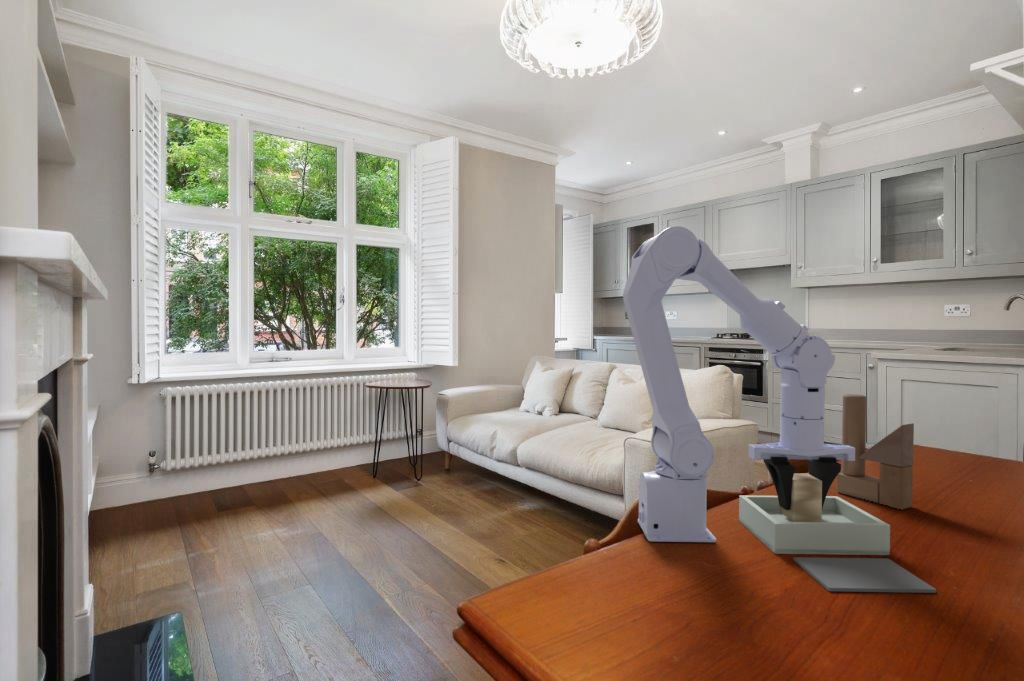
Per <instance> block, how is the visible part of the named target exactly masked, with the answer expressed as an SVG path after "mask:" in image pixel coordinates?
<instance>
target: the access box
mask: <svg viewBox="0 0 1024 681" xmlns="http://www.w3.org/2000/svg"><path fill="white" fill-rule="evenodd" d="M738 496H739V498H738V506H739V507H738V521H739V522H740V523H741V524H742V525H743V526H744V527H745V528H746V529H748V531H749V532H750V533H752V535H754V536H755V538H757V539H758V540H759V541H760V542H762V544H764V545H765V546H766V547H767V548H768V549H769V550H770V551H771V552H772V553H773V554H775V555H776V554H778V555H780V554H782V555H783V554H785V555H842V556H843V555H846V556H847V555H851V556H852V555H853V556H854V555H856V556H860V555H861V556H862V555H864V556H890V552H891V550H890V549H891V544H890V543H891V524H888V523H887V522H885V521H884V520H881V519H880V518H878V517H876V516H874V515H872V514H871V513H869V512H867V511H865V510H863V509H861V508H859V507H858V506H856V505H854V504H852V503H850V502H848V501H847V500H845V499H843V498H842V497H840V496H837V495H835V496H834V495H826V498H825V502H824V505H823V509H822V522H793V521H791V520H790V519H789V518H787V517H786V516H785V515H783V514H782V513H780V506H779V501H778V496H777V495H753V494H751V495H747V494H746V495H744V494H743V495H741V494H740V495H738Z"/></svg>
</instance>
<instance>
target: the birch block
mask: <svg viewBox="0 0 1024 681" xmlns="http://www.w3.org/2000/svg"><path fill="white" fill-rule="evenodd" d="M780 513H782V514H783V515H785V516H786V517H787V518H789V519H790V520H791V521H793V522H822V481H821V480H819V479H817V478H815V477H813V476H811V475H810V474H809V472H807V473H802V472H801V473H799V472H798V473H795V472H794V475H793V480H792V487H791V508H790V510H785V509H784V508H782V507H781V506H780Z"/></svg>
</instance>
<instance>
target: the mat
mask: <svg viewBox="0 0 1024 681" xmlns="http://www.w3.org/2000/svg"><path fill="white" fill-rule="evenodd" d="M793 562H795V563H796V564H797V565H798V566H800V568H801V569H803V570H804V571H805V572H806V573H808V575H809V576H810V577H812V578H813V579H814V580H815V581H817V582H818V584H820V586H822V587H823V588H824V589H825V590H827V591H828V592H845V593H846V592H847V593H848V592H851V593H854V592H855V593H856V592H857V593H859V592H860V593H864V592H865V593H912V594H913V593H919V594H921V593H924V594H925V593H926V594H929V593H930V594H932V593H933V594H936V593H937V589H936V588H935V587H933V586H932V585H931V584H928V582H925V581H924V580H922V579H921V578H919V577H918V576H916V575H915V574H914V573H911V572H910V571H909V570H907V569H905V568H904V567H903V566H901V565H899V564H897V563H896V562H894V561H893V560H891V559H890V558H879V557H878V558H871V557H870V558H867V557H866V558H865V557H862V558H861V557H802V556H801V557H796V556H795V557H793Z"/></svg>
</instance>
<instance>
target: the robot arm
mask: <svg viewBox="0 0 1024 681" xmlns="http://www.w3.org/2000/svg"><path fill="white" fill-rule="evenodd" d="M630 263H631V264H630V268H629V272H628V275H627V278H626V283H625V286H624V289H623V292H622V299H623V300H622V301H623V304H624V306H625V307H624V308H625V310H626V315H627V318H628V322H629V326H630V330H631V334H632V338H633V341H634V344H635V349H636V352H637V356H638V360H639V363H640V367H641V371H642V374H643V378H644V381H645V386H646V389H647V392H648V397H649V401H650V403H651V408H652V414H651V417H650V418H651V419H650V421H651V426H652V433H651V438H650V445H651V448H652V449H651V450H652V452H653V453H654V455H655V456H656V457H657V462H656V464H655V468H654V469H655V470H652V471H644V472H640V474H639V478H638V518H637V523H638V524H639V526H640V528H641V529H642V532H643V534H644V536H645V537H646V539H647V540H648V542H653V543H654V542H657V543H658V542H662V543H663V542H668V543H672V542H673V543H675V542H676V543H716V542H717V538H716V537H715V535H714V534H713V533H712V532H711V531H710V530H709V528H708V527H707V502H708V501H707V490H708V489H707V488H708V487H707V486H708V485H707V482H708V481H707V479H708V476H707V474H708V473H707V472H708V471H709V470H710V469H711V467H712V465H713V464H714V460H715V450H714V446H713V444H712V442H711V441H710V440H709V438H708V437H706V435H705V434H704V433H703V431H702V428H701V424H700V421H699V419H698V418H697V416H696V415H695V413H694V412H693V410H692V408H691V406H690V404H689V401H688V396H687V393H686V390H685V389H686V388H685V385H684V382H683V377H682V374H681V370H680V366H679V363H678V358H677V355H676V352H675V347H674V344H673V340H672V337H671V333H670V329H669V326H668V321H667V318H666V314H665V309H664V307H663V303H662V300H663V298H664V297H665V295H666V294H667V293H668V290H670V288H671V286H672V285H673V283H674V282H675V281H676V280H684V281H691V282H692V281H693V282H698V283H699V284H700V285H702V286H703V287H704V288H705V289H707V290H708V291H710V292H711V293H712V294H713V295H715V296H716V297H717V298H718V299H720V300H721V301H722V302H723V303H724V304H726V305H727V306H728V307H729V308H731V309H732V310H733V311H734V312H736V313H737V314H738V315H739V320H740V321H739V322H740V328H741V329H742V330H744V331H745V333H747V334H748V335H749V336H750V337H752V339H754V340H755V341H756V342H757V343H758V344H759V345H760V346H762V348H764V349H765V350H766V351H767V352H769V354H770V355H771V358H772V361H773V362H772V363H773V365H774V366H775V367H777V368H779V369H780V393H779V394H780V396H779V398H780V399H779V400H780V402H779V405H780V406H779V407H780V409H779V442H769V443H759V444H755V443H754V444H753V443H751V444H748V457H749V458H750V459H752V460H754V461H762V460H763V464H764V465H765V467H766V469H767V470H768V472H769V474H770V476H771V480H772V483H773V486H774V488H775V492H776V496H778V501H779V506H781V507H782V508H784V509H785V510H790V508H791V487H792V480H793V475H794V473H795V471H796V467H795V466H793V465H792V464H790V463H791V462H790V461H789V460H806V463H807V468H808V469H807V470H808V474H810V475H811V476H813V477H815V478H817V479H819V480H821V481H822V509H823V505H824V502H825V498H826V496H828V493H829V491H830V488H831V486H832V484H833V483H834V481H835V479H837V475H838V474H839V473H841V472H842V463H839V462H837V461H839V460H841V461H842V460H847V461H855V448H854V447H851V446H848V445H842V444H830V443H825V442H824V440H825V398H826V397H825V396H826V395H825V391H826V388H825V386H826V385H825V384H827V376H828V373H829V372H830V370H832V368H833V367H834V364H835V361H836V355H834V354H833V353H832V350H831V347H830V345H829V343H828V342H827V341H826V340H825V339H823V337H820V336H815V335H810V334H809V332H808V330H809V328H808V327H807V326H806V325H805V324H800V323H799V322H798V321H797V320H795V319H794V318H793V317H792V316H791V315H790V314H789V313H787V312H786V310H785V308H786V305H785V304H783V303H782V301H780V300H778V301H777V300H776V301H774V300H773V299H771V298H761V299H760V298H758V297H757V296H756V295H755V294H754V293H753V292H752V291H751V290H750V289H749V288H748V287H747V286H746V284H744V283H743V282H742V280H741V279H739V277H737V276H736V275H735V274H734V273H733V272H732V270H730V269H729V268H728V267H727V266H726V265H725V263H723V262H722V261H721V260H720V259H719V258H718V257H717V256H716V255H715V254H714V252H713V250H712V249H711V248H710V246H709V245H708V244H707V243H706V242H705V241H703V240H702V239H700V238H697V236H696V234H694V233H693V231H691V229H688V228H686V227H684V226H679V225H677V226H676V225H675V226H670V227H667V228H666V229H663V230H662V231H661V232H660V233H659V234H656V235H655V236H653V237H650V238H648V239H646V240H645V241H644V242H643V243H642V244H641V245H640V246H639V247H638V248H637V250H636V251H635V253H634V254H633V255H632V257H631V262H630Z"/></svg>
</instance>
